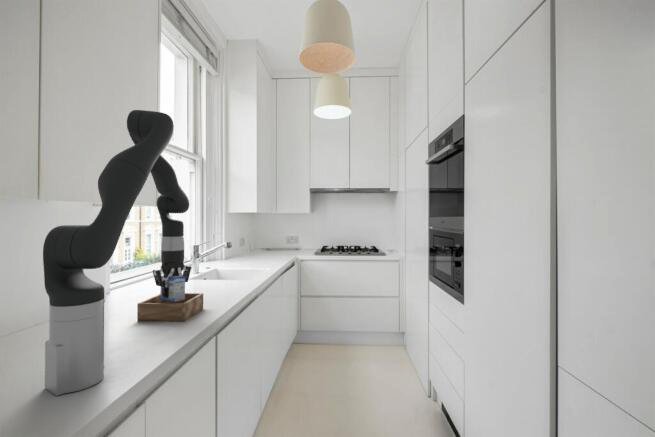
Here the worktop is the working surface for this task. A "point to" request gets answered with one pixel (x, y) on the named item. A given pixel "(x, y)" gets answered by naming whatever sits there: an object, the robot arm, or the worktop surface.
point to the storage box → (169, 308)
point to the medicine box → (175, 289)
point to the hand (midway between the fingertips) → (172, 295)
